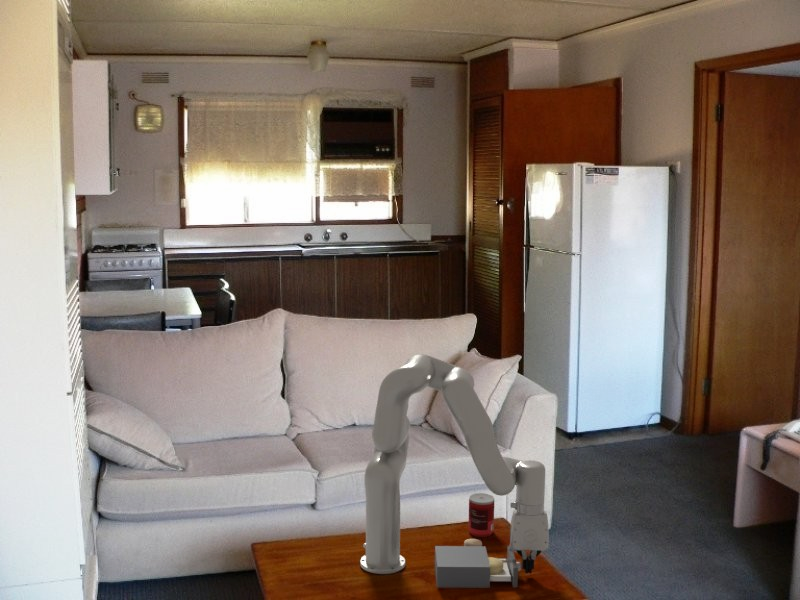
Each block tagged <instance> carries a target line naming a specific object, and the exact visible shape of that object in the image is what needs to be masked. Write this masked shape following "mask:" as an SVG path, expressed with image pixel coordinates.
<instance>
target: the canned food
mask: <svg viewBox="0 0 800 600" xmlns="http://www.w3.org/2000/svg"><path fill="white" fill-rule="evenodd" d="M494 525H495V497H494V496H493V495H492V494H489V493H485V492H480V493H479V492H478V493H473V494H470V495H469V498H468V532H469V534H470V535H472V536H473V537H477V538H487V536H488V537H490V536H492V535H493V534H492V533H494V528H495V527H494ZM491 534H492V535H491Z"/></svg>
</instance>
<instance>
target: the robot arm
mask: <svg viewBox="0 0 800 600" xmlns="http://www.w3.org/2000/svg"><path fill="white" fill-rule="evenodd" d="M474 387H475V379H474V377H473V375H472V373H470V372H469V371H468V370H466V369H465V368H462V367H461V366H458V365H455V364H452V363H450V362H447V361H444V360H441V359H439V358H436V357H434V356H430V355H427V354H424V353H423V354H415V355H413V356H411V357H410V358H408V359H407V360H406V362H405V364H404V365H402V366H400V367H398V368H396V369H394V370H392V371H391V372H389V373H388V374H387V375H385V377H384V379H383V380H382V381H381V384H380V386H379V390H378V396H377V401H376V402H377V403H376V407H375V408H376V409H375V414H374V422H373V427H372V431H371V437H372V442H373V445H374V451H373V455H372V457H371V459H370V460H369V461H368V463H367V465H366V468H365V470H364V471H365V472H364V477H363V478H364V491H365V543H363V544H362V546H363V548H364V549H365V554H364V555H363V556H361V558H360V560H359V564H360V567H361V568H362V569H363V571H366V572H367V573H368V572H369V573H372V574H378V575H388V574H389V575H390V574H394V573H397V572H400V571H402V570H403V569H404V568H405V566H406V559H405V557H404V556H402V555H401V543H400V542H401V490H400V488H401V487H400V486H401V485H400V484H401V483H400V482H401V478H402V475H403V473H404V470H405V468H406V465H407V458H408V450H409V442H410V436H411V421H410V419H409V418H408V415H407V414H408V410H409V403H410V402H409V400H410V398H411V397H412V396H413V395H414V394H415V395H416V394H417V393H420V392H422V391H424V390H426V389H427V388H430V389H432V390H433V389H434V390H436V391H439V392H440V395H441V397H442V399H443V401H444V403H445V405H446V407H447V409H448V411H449V413H450V414H451V416H452V418H453V420H454V422H455V423H456V425H457V427H458V428H459V430H460V432H461V434H462V436H463V438H464V442H465V444H466V446H467V449H468V451H469V454H470V456H471V459H472V461H473V463H474V466H475V467H476V469H477V471H478V473H479V475H480V477H481V478H482V480H483V482H484V484H485V485H486V487H487V488H488V489H489V491H490V492H491V493H493V494H494V495H496V496H502V497H503V496H507V495H509V494H510V493H511V492H512V491H513V490H514V488H515V489H516V491H515V492H516V493H515V494H516V495H515V501H513V502H510V508H511V509H512V508H513V509H514V510H513V511H512V516H511V520H510V529H509V545H508V546H509V551H512V552H513V553H517V554H518V555H519V556H520V557H521V558H522V559H521V560H522V561H521V562H522V563H521V570H524V572H525V574H532V571H533V570H535V560H536V559H537V557H538V556H539V555H540V554H541V553H546V552H549V550H550V549H549V542H550V539H549V538H550V536H549V535H550V533H549V530H550V529H549V519H548V513H547V511H545V492H546V490H545V489H546V488H545V487H546V467H545V465H544V464H543V463H542V462H540V461H537V460H521V459H516V458H511V457H509V456H507V457H506V456H502V454H501V451H500V449H499V446H498V442H497V440H496V437H495V428H494V426H493V422H492V420H491V418H490V416H489V415H488V414H489V413H487V410H486V409H485V406H484V405H483V403H482V402H481V399H480V397H479V396H478V395H477V392H476V391H475V389H474ZM527 551H529V554H528V553H527Z"/></svg>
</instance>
